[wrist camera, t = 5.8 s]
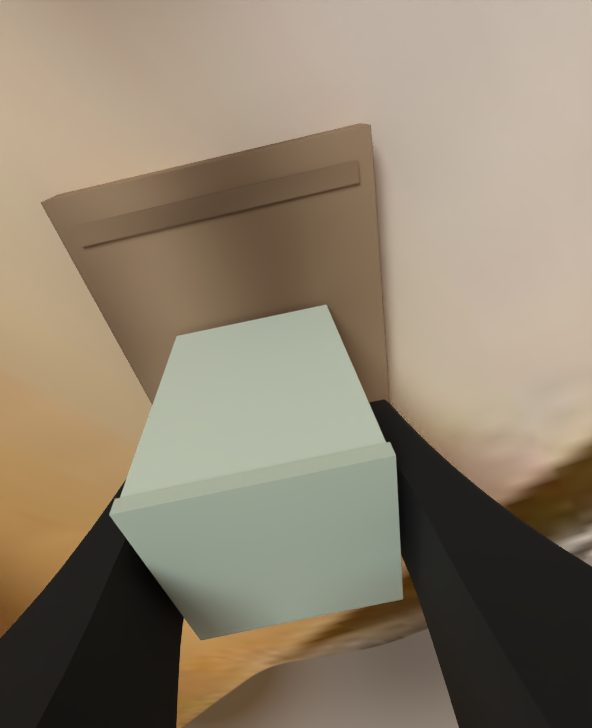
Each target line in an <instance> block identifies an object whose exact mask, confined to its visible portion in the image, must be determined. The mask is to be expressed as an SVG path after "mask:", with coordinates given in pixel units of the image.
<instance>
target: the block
mask: <svg viewBox="0 0 592 728" xmlns="http://www.w3.org/2000/svg"><path fill="white" fill-rule="evenodd" d="M109 515H110V517H111V518H112V519H113V521H114V522H115V524H116V525H117V526H118V528H119V529H120V530H121V532H122V533H123V535H124V536H125V537H126V539H127V540H128V541H129V543H130V544H131V545H132V547H133V548H134V550H135V551H136V552H137V554H138V555H139V556H140V558H141V559H142V561H143V562H144V563H145V565H146V566H147V567H148V569H149V570H150V572H151V573H152V574H153V576H154V577H155V578H156V580H157V581H158V583H159V584H160V585H161V587H162V588H163V589H164V591H165V592H166V593H167V595H168V596H169V598H170V599H171V600H172V602H173V603H174V604H175V606H176V607H177V609H178V610H179V611H180V613H181V614H182V615H183V617H184V618H185V620H186V621H187V622H188V624H189V625H190V626H191V628H192V629H193V631H194V632H195V633H196V635H197V636H198V637H199V639H200V640H205V639H210V638H214V637H219V636H224V635H229V634H234V633H239V632H244V631H249V630H254V629H259V628H264V627H269V626H273V625H278V624H283V623H288V622H293V621H298V620H303V619H308V618H313V617H318V616H323V615H328V614H333V613H337V612H342V611H347V610H352V609H357V608H362V607H367V606H372V605H377V604H382V603H387V602H392V601H396V600H401V599H403V588H402V568H401V547H400V527H399V507H398V487H397V467H396V454H395V452H394V450H393V448H392V445H391V443H390V442H387V443H386V441H385V439H384V437H383V434H382V432H381V430H380V427H379V425H378V423H377V420H376V418H375V416H374V413H373V411H372V409H371V406H370V404H369V402H368V400H367V397H366V395H365V393H364V390H363V388H362V386H361V383H360V381H359V379H358V376H357V374H356V372H355V369H354V367H353V365H352V363H351V360H350V358H349V356H348V353H347V351H346V349H345V346H344V344H343V342H342V339H341V337H340V335H339V333H338V330H337V328H336V326H335V323H334V321H333V319H332V316H331V314H330V312H329V309H328V307H327V305H322V306H317V307H313V308H308V309H303V310H298V311H293V312H289V313H284V314H279V315H274V316H270V317H265V318H260V319H255V320H251V321H246V322H241V323H236V324H232V325H227V326H222V327H217V328H213V329H208V330H203V331H198V332H194V333H189V334H184V335H179V336H177V337H176V339H175V342H174V345H173V348H172V351H171V354H170V356H169V359H168V362H167V365H166V368H165V371H164V374H163V376H162V379H161V382H160V385H159V388H158V391H157V394H156V396H155V399H154V402H153V405H152V408H151V411H150V413H149V416H148V419H147V422H146V425H145V428H144V431H143V433H142V436H141V439H140V442H139V445H138V448H137V451H136V453H135V456H134V459H133V462H132V465H131V468H130V470H129V473H128V476H127V479H126V482H125V485H124V488H123V490H122V493H121V496H120V498H117V499H115V500H114V502H113V505H112V508H111V511H110V513H109Z"/></svg>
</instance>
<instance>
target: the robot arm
mask: <svg viewBox="0 0 592 728" xmlns="http://www.w3.org/2000/svg"><path fill="white" fill-rule="evenodd" d="M369 404H370V406H371V409H372V411H373V413H374V416H375V418H376V420H377V423H378V425H379V427H380V430H381V432H382V434H383V437H384V439H385V441H386V443H387V442H390V443H391V445H392V448H393V450H394V452H395V454H396V467H397V487H398V507H399V527H400V547H401V555H402V557H403V560H404V562H405V564H406V567H407V569H408V572H409V574H410V577H411V579H412V582H413V584H414V587H415V590H416V592H417V595H418V598H419V601H420V604H421V607H422V610H423V613H424V616H425V619H426V623H427V626H428V629H429V632H430V635H431V638H432V641H433V644H434V648H435V651H436V654H437V657H438V660H439V664H440V667H441V670H442V673H443V676H444V680H445V683H446V686H447V689H448V693H449V696H450V699H451V703H452V706H453V709H454V713H455V716H456V719H457V723H458V725H459V728H592V567H591V566H590V565H588V564H586V563H585V562H584V561H582V560H580V559H579V558H577V557H576V556H574V555H572V554H571V553H569V552H568V551H566V550H564V549H563V548H561V547H560V546H558V545H557V544H555V543H554V542H552V541H551V540H549V539H548V538H546V537H545V536H543V535H542V534H541V533H539V532H538V531H536V530H535V529H533V528H532V527H530V526H529V525H527V524H526V523H525V522H523V521H522V520H520V519H519V518H518V517H516V516H515V515H514V514H512V513H511V512H510V511H508V510H507V509H505V508H504V507H503V506H501V505H500V504H499V503H497V502H496V501H495V500H494V499H492V498H491V497H490V496H488V495H487V494H486V493H485V492H483V491H482V490H481V489H480V488H478V487H477V486H476V485H475V484H474V483H472V482H471V481H470V480H469V479H468V478H466V477H465V476H464V475H463V474H462V473H460V472H459V471H458V470H457V469H456V468H455V467H454V466H452V465H451V464H450V463H449V462H448V461H447V460H446V459H445V458H443V457H442V456H441V455H440V454H439V453H438V452H437V451H436V450H435V449H434V448H433V447H432V446H430V445H429V444H428V443H427V442H426V441H425V440H424V439H423V438H422V437H421V436H420V435H419V434H418V433H417V432H416V431H415V430H414V429H413V428H412V427H411V426H410V425H409V424H408V423H407V422H406V421H405V420H404V419H403V418H402V416H401V415H400V414H399V413H398V412H397V411H396V410H395V409H394V408H393V407H392V405H391V404H390V403H389V402H388V401H386V400H385V399H383V400H378V401H373V402H369ZM125 482H126V480H125ZM125 482H124V483H123V485H122V486H121V488H120V489H119V490H118V492H117V493H116V495H115V496H114V498H113V499H112V501H111V502H110V503H109V505H108V506H107V508H106V509H105V510H104V512H103V513H102V515H101V516H100V517H99V519H98V520H97V522H96V523H95V524H94V526H93V527H92V529H91V530H90V531H89V533H88V534H87V535H86V536H85V538H84V539H83V540H82V542H81V543H80V544H79V546H78V547H77V548H76V550H75V551H74V552H73V553H72V555H71V556H70V557H69V559H68V560H67V561H66V563H65V564H64V565H63V567H62V568H61V569H60V570H59V572H58V573H57V574H56V575H55V577H54V578H53V579H52V580H51V581H50V583H49V584H48V585H47V586H46V587H45V589H44V590H43V591H42V592H41V593H40V595H39V596H38V597H37V598H36V599H35V600H34V601H33V603H32V604H31V605H30V606H29V607H28V608H27V609H26V611H25V612H24V613H23V614H22V615H21V616H20V617H19V619H18V620H17V621H16V622H15V623H14V624H13V625H12V626H11V628H10V629H9V630H8V631H7V632H6V633H5V634H4V635H3V636H2V637H1V638H0V728H176V720H177V695H178V677H179V660H180V644H181V635H182V626H183V619H184V617H183V615H182V614H181V613H180V611H179V610H178V609H177V607H176V606H175V604H174V603H173V602H172V600H171V599H170V598H169V596H168V595H167V593H166V592H165V591H164V589H163V588H162V587H161V585H160V584H159V583H158V581H157V580H156V578H155V577H154V576H153V574H152V573H151V572H150V570H149V569H148V567H147V566H146V565H145V563H144V562H143V561H142V559H141V558H140V556H139V555H138V554H137V552H136V551H135V550H134V548H133V547H132V545H131V544H130V543H129V541H128V540H127V539H126V537H125V536H124V535H123V533H122V532H121V530H120V529H119V528H118V526H117V525H116V524H115V522H114V521H113V519H112V518H111V517H110V515H109V513H110V511H111V508H112V505H113V502H114V500H115V499H117V498H120V496H121V493H122V490H123V488H124V485H125Z"/></svg>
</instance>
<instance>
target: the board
mask: <svg viewBox="0 0 592 728" xmlns="http://www.w3.org/2000/svg"><path fill="white" fill-rule="evenodd" d="M41 204H42V206H43V208H44V210H45V211H46V213H47V215H48V217H49V219H50V220H51V222H52V224H53V226H54V228H55V230H56V231H57V233H58V235H59V237H60V239H61V240H62V242H63V244H64V246H65V248H66V249H67V251H68V253H69V255H70V257H71V259H72V260H73V262H74V264H75V266H76V268H77V269H78V271H79V273H80V275H81V277H82V278H83V280H84V282H85V284H86V286H87V288H88V289H89V291H90V293H91V295H92V297H93V298H94V300H95V302H96V304H97V306H98V307H99V309H100V311H101V313H102V315H103V316H104V318H105V320H106V322H107V324H108V326H109V327H110V329H111V331H112V333H113V335H114V336H115V338H116V340H117V342H118V344H119V345H120V347H121V349H122V351H123V353H124V355H125V356H126V358H127V360H128V362H129V364H130V365H131V367H132V369H133V371H134V373H135V374H136V376H137V378H138V380H139V382H140V384H141V385H142V387H143V389H144V391H145V393H146V394H147V396H148V398H149V400H150V402H151V403H152V405H153V402H154V399H155V396H156V394H157V391H158V388H159V385H160V382H161V379H162V376H163V374H164V371H165V368H166V365H167V362H168V359H169V356H170V354H171V351H172V348H173V345H174V342H175V339H176V337H177V336H179V335H184V334H189V333H194V332H198V331H203V330H208V329H213V328H217V327H222V326H227V325H232V324H236V323H241V322H246V321H251V320H255V319H260V318H265V317H270V316H274V315H279V314H284V313H289V312H293V311H298V310H303V309H308V308H313V307H317V306H322V305H327V307H328V309H329V312H330V314H331V316H332V319H333V321H334V323H335V326H336V328H337V330H338V333H339V335H340V337H341V339H342V342H343V344H344V346H345V349H346V351H347V353H348V356H349V358H350V360H351V363H352V365H353V367H354V369H355V372H356V374H357V376H358V379H359V381H360V383H361V386H362V388H363V390H364V393H365V395H366V397H367V400H368V402H373V401H378V400H383V399H385V400H386V401H388V402H389V390H388V375H387V360H386V345H385V330H384V315H383V300H382V285H381V270H380V255H379V240H378V225H377V210H376V195H375V180H374V165H373V150H372V135H371V125H368V124H361V123H360V124H356V125H351V126H347V127H343V128H339V129H334V130H330V131H326V132H322V133H317V134H313V135H309V136H305V137H300V138H296V139H292V140H288V141H283V142H279V143H275V144H271V145H267V146H262V147H258V148H254V149H250V150H245V151H241V152H237V153H233V154H228V155H224V156H220V157H216V158H211V159H207V160H203V161H199V162H194V163H190V164H186V165H182V166H177V167H173V168H169V169H165V170H161V171H156V172H152V173H148V174H144V175H139V176H135V177H131V178H127V179H122V180H118V181H114V182H110V183H105V184H101V185H97V186H93V187H88V188H84V189H80V190H76V191H71V192H67V193H63V194H59V195H56V196H54V197H52V198H50V199H47V200H45V201H43V202H41Z"/></svg>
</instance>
